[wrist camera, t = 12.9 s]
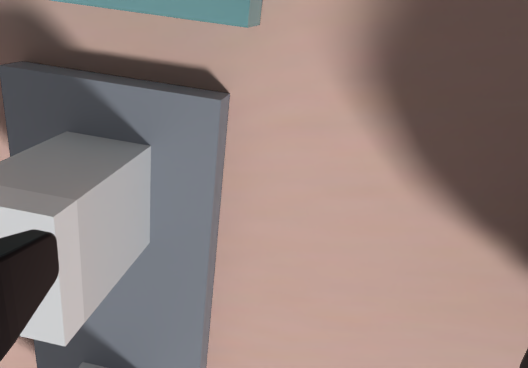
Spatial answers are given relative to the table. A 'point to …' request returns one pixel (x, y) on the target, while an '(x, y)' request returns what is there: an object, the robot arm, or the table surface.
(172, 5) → the teal tray
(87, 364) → the block
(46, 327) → the block
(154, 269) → the board
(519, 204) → the table surface
